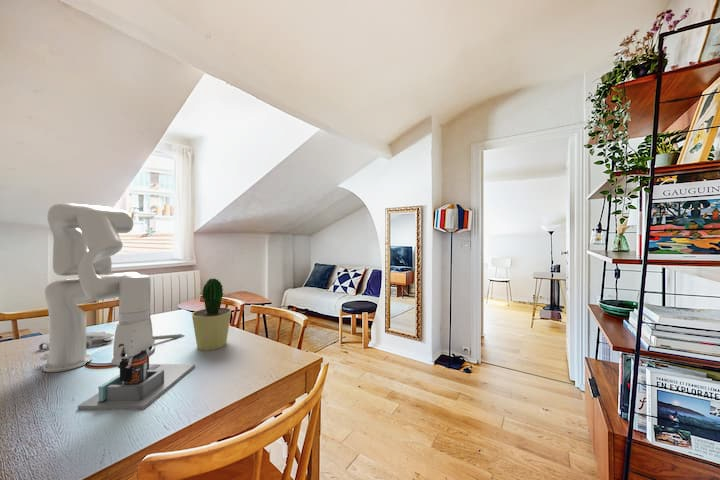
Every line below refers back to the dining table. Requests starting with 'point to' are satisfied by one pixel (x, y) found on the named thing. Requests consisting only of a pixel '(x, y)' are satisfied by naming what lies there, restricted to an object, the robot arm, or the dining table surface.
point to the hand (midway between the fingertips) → (135, 374)
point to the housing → (140, 389)
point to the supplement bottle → (138, 369)
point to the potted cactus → (211, 318)
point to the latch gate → (104, 387)
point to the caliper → (167, 336)
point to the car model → (89, 340)
